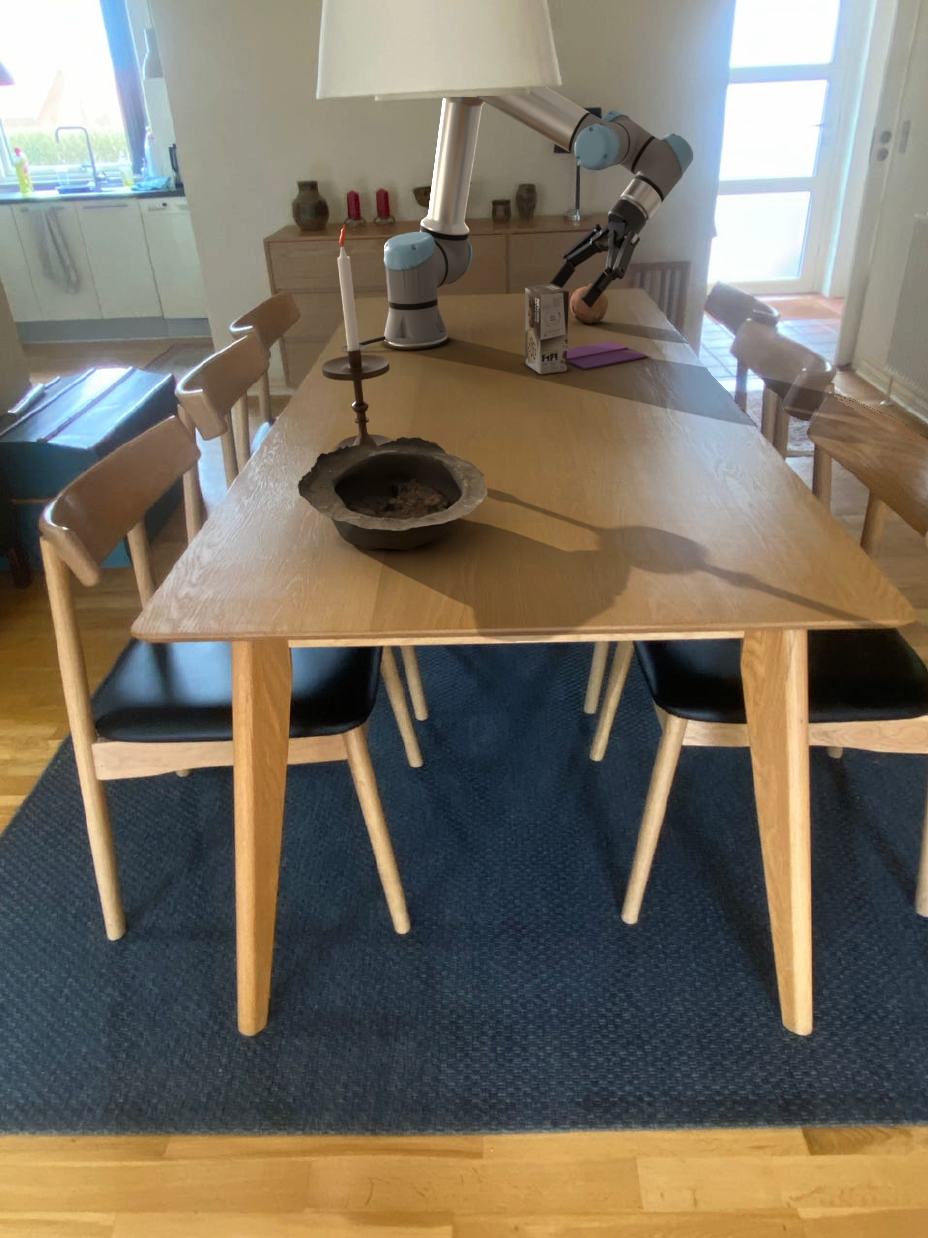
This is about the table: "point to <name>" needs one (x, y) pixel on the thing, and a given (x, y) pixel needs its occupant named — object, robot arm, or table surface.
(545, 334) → the coffee box
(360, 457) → the stone bowl
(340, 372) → the candlestick
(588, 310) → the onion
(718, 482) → the table surface
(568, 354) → the napkin
